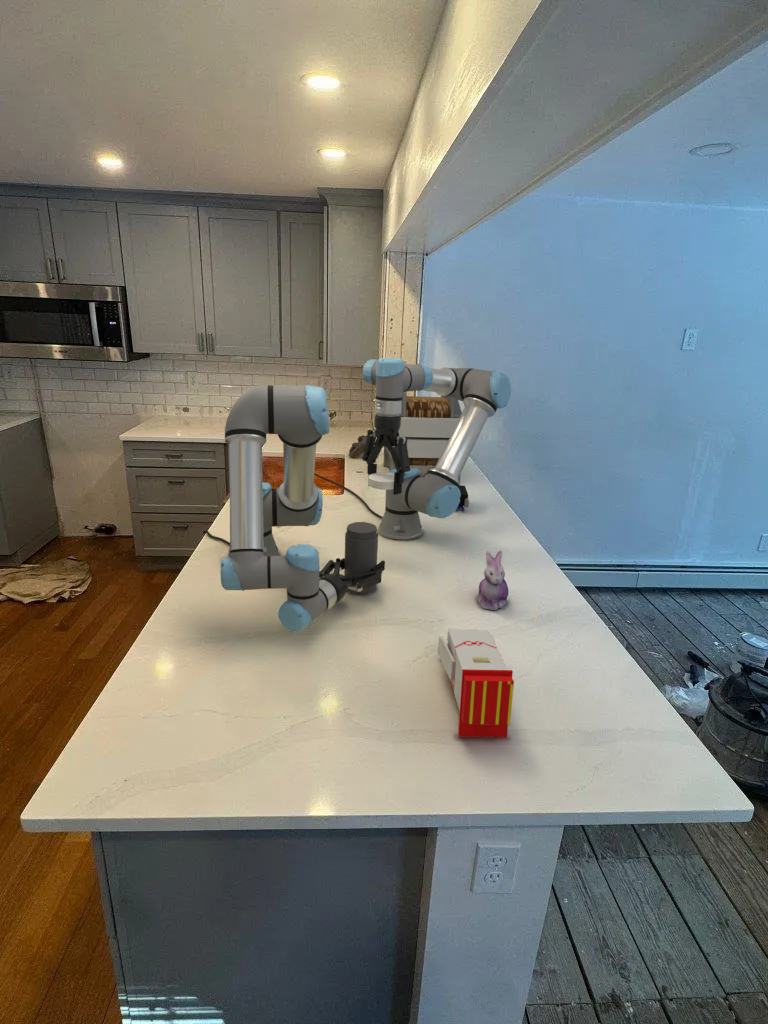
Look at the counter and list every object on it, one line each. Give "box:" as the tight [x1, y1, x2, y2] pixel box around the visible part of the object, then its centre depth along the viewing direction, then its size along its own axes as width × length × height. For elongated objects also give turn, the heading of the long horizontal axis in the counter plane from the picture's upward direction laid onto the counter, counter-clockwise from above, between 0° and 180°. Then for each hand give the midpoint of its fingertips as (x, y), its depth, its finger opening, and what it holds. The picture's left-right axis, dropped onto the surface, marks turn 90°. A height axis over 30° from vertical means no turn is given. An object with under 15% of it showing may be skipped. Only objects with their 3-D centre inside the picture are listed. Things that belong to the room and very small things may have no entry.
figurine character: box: [455, 484, 470, 512], centre depth 229 cm, size 7×8×15 cm
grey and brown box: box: [383, 392, 463, 483], centre depth 268 cm, size 34×33×41 cm
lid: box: [367, 472, 394, 491], centre depth 168 cm, size 10×10×2 cm
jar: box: [343, 521, 379, 596], centre depth 157 cm, size 9×9×18 cm
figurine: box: [477, 549, 509, 611], centre depth 153 cm, size 9×10×15 cm
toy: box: [437, 628, 515, 738], centre depth 117 cm, size 12×13×30 cm
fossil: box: [348, 434, 367, 459], centre depth 303 cm, size 22×10×15 cm
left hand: (368, 561), depth 162 cm, fingers closed on jar, 9 cm apart
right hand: (384, 489), depth 168 cm, fingers closed on lid, 10 cm apart
